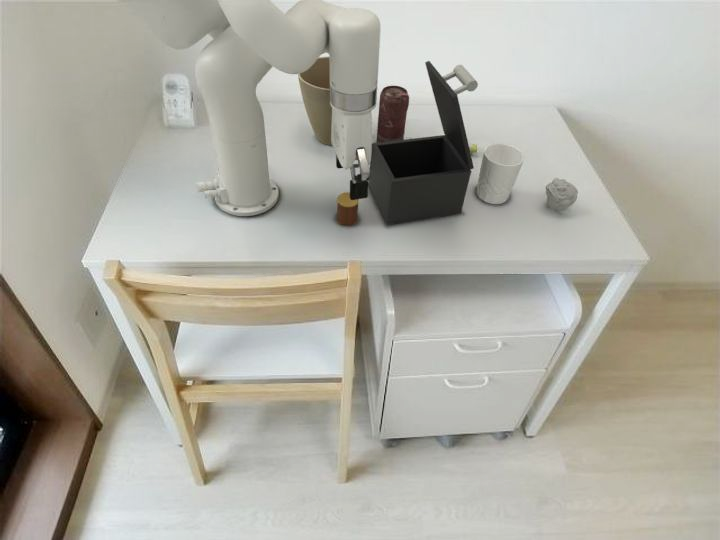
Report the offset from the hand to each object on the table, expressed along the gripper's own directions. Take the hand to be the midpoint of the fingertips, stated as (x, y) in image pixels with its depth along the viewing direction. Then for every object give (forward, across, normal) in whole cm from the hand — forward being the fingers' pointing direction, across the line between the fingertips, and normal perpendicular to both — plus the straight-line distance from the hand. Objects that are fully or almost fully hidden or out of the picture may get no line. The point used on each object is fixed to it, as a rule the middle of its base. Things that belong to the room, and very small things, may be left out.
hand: (351, 181), depth 95 cm
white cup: (+10, -1, +31) cm, 33 cm away
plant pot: (+9, -29, +3) cm, 31 cm away
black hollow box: (+9, -3, +14) cm, 18 cm away
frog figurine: (+10, +6, +42) cm, 44 cm away
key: (+10, -18, +28) cm, 35 cm away
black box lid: (-9, -3, +19) cm, 21 cm away
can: (+9, -22, +15) cm, 29 cm away
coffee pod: (+9, 0, -1) cm, 9 cm away
